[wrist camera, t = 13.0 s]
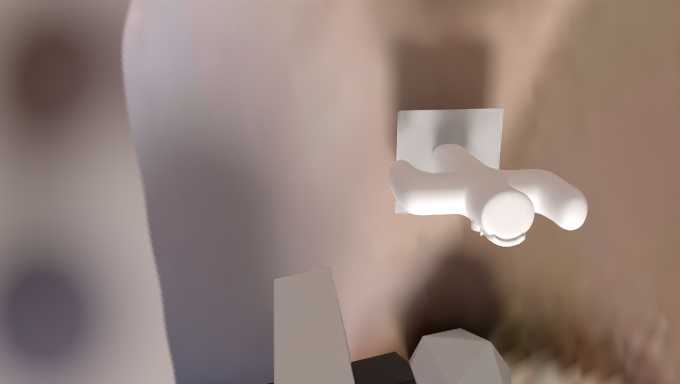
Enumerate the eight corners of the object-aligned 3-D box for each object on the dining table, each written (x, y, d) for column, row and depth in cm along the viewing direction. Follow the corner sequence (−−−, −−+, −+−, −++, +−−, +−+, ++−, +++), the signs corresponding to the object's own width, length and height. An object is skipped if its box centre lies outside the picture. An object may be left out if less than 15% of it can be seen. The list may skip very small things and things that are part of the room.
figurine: (372, 101, 43) (421, 155, 29) (500, 98, 44) (607, 149, 30) (371, 197, 45) (415, 290, 31) (492, 192, 46) (589, 280, 32)
